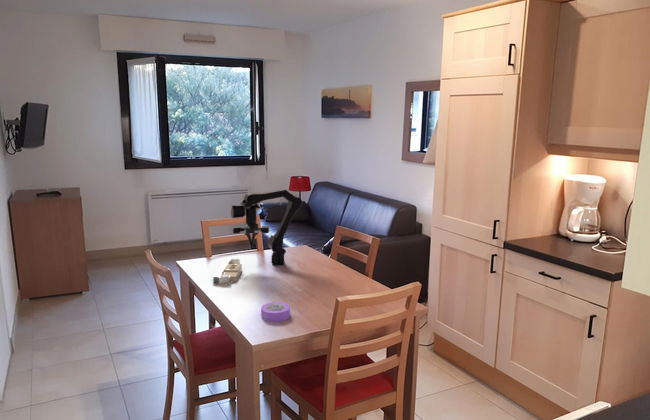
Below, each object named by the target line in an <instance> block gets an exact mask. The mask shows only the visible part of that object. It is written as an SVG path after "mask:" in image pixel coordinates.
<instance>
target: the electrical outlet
mask: <svg viewBox="0 0 650 420" xmlns="http://www.w3.org/2000/svg"><path fill="white" fill-rule="evenodd" d="M242 270H243V266H242V263H240V264H228V265H227V267H226V268H225V270H224V273H223V274H222V275H231V283H236V282H237V281H238V279H239V277H240V274H241V273H242Z"/></svg>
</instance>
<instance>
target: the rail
mask: <svg viewBox="0 0 650 420" xmlns="http://www.w3.org/2000/svg"><path fill="white" fill-rule="evenodd" d="M228 264H241V259H240V258H230V259H224V260H223V262H221V264H220V265H219V268H218V269H217V270H216V271H215V273H214V275H213V276H212V281H213V284H217V285H220V286H222V285H223V286H224V285H225V286H230V284H231V283H232V282H231V275H222V274H223V273H224V270H225V268H226V267H227V265H228Z"/></svg>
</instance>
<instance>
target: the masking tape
mask: <svg viewBox="0 0 650 420" xmlns="http://www.w3.org/2000/svg"><path fill="white" fill-rule="evenodd" d="M260 315H261V319H262V320H263V321H264V320H265V321H268V322H275V323H276V322H283V321H286V320H287V319H289V318H290V316H291V307H290V305H289V304H288V303H287V302H279V301H278V302H277V301H276V302H275V301H273V302H268V303H265V304H263V305H261V308H260Z"/></svg>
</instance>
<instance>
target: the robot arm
mask: <svg viewBox="0 0 650 420" xmlns="http://www.w3.org/2000/svg"><path fill="white" fill-rule="evenodd" d="M243 197H244V198H243V200H242V201H241V203H240V204H232V205H231V208H230V216H231V218H232V219H240V218H244V217H245V224H244V227H242V225H235V226H234V227H233V229H232V233H233V234H240V233H241V232H243V235H245V236H246V237H247V239H248V241H249V244H250V246H253V244H254V241H255V238H256V236H257V235H259V233H260V232H261V233H262V234H269V232H270V226H269V225H261V227H259V224H258V220H257V209H261V206H260V205H258V204H259V203H261V202H263V201H267V200H274V199H278V198H284V199H285V200H286V201H287V204H286V211H285V213H284V216H283V217H282V220H281V222H280V223H279V227H277V229H276V232H275V234H274V235H273V234H271V235H270V237H269V240H268V241H267V242H268V244H267V245H268V247H269V249H270V250H271V251H272V254H271V264H272V266H273V265H274V266H279V265H280V266H284V265H285V263H286V261H285V255H286V249H285V248H284V247H283V245H284V237H285V235H286V233H287V231H288V228H289V227H290V224H291V222H292V220H293V218H294V215H295V214H296V213H297V211H299V209H300V208H301V207H302V205H303V200H302V199H301V198H300V197H299V196H297V195H294V194H292V193H290V191H288V190H287V189H285V188H281V189H277V190H272V191H271V190H270V191H264V192H247V193H245V195H244V196H243Z"/></svg>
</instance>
